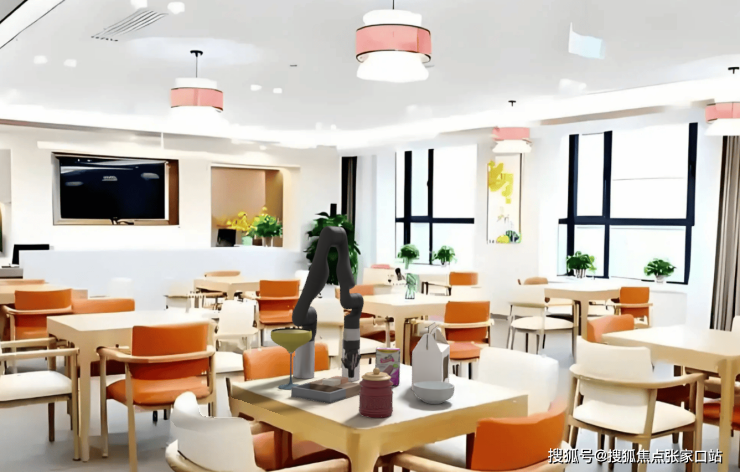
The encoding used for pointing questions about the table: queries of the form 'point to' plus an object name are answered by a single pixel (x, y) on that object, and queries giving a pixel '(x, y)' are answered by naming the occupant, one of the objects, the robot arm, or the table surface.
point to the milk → (345, 370)
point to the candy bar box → (389, 362)
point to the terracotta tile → (343, 379)
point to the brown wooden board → (336, 387)
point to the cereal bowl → (433, 391)
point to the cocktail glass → (290, 344)
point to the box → (317, 394)
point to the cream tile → (331, 381)
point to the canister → (376, 395)
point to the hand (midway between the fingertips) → (351, 377)
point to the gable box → (431, 357)
